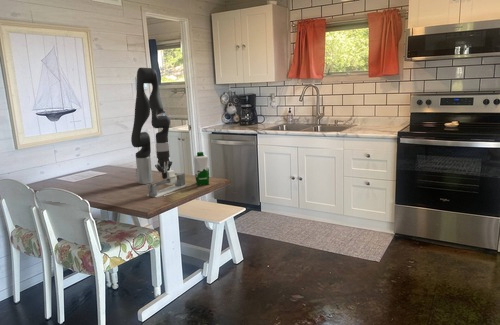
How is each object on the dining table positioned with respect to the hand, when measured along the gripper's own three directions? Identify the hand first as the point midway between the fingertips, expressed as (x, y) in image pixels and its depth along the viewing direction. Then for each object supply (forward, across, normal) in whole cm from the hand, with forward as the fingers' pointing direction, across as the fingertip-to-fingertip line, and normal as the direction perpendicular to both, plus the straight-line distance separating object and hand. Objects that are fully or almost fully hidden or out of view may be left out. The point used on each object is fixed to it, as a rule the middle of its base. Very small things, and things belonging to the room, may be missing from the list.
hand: (164, 178), depth 233 cm
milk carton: (+8, -23, +10) cm, 26 cm away
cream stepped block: (+4, -5, 0) cm, 7 cm away
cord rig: (+8, -1, 0) cm, 8 cm away
